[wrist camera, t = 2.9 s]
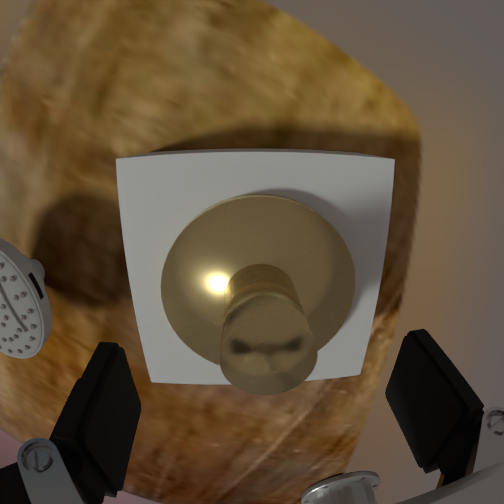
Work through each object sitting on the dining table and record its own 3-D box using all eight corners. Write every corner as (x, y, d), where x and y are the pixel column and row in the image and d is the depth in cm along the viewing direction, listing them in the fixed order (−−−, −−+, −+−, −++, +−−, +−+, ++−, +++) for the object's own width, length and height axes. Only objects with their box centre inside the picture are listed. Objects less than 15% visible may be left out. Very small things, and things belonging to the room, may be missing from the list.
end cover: (320, 318, 23) (366, 426, 13) (185, 321, 22) (159, 436, 13) (332, 182, 19) (419, 229, 9) (173, 183, 19) (110, 232, 9)
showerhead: (-68, 270, 14) (-9, 226, 13) (-18, 240, 21) (50, 199, 20) (-12, 371, 17) (61, 359, 17) (25, 327, 24) (98, 305, 23)
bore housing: (337, 327, 25) (359, 374, 19) (166, 332, 24) (151, 382, 19) (354, 152, 20) (394, 159, 14) (148, 152, 19) (115, 159, 14)
